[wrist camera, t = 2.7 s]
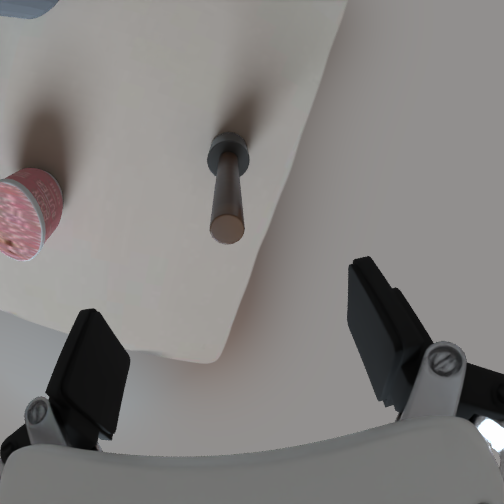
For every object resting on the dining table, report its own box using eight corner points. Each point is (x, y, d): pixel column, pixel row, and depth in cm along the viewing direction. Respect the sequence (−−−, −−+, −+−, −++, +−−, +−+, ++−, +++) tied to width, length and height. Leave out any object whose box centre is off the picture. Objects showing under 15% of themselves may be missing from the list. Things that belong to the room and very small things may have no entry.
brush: (242, 128, 30) (258, 186, 14) (249, 162, 32) (271, 254, 16) (206, 136, 30) (179, 203, 14) (215, 169, 32) (200, 268, 16)
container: (16, 153, 28) (-21, 173, 21) (76, 168, 30) (43, 192, 24) (15, 220, 33) (-15, 248, 26) (69, 238, 35) (44, 272, 29)
